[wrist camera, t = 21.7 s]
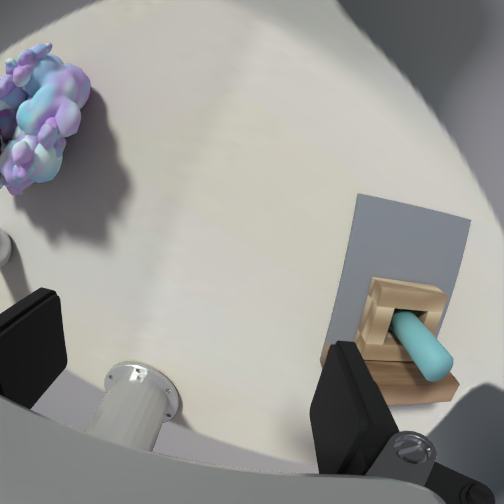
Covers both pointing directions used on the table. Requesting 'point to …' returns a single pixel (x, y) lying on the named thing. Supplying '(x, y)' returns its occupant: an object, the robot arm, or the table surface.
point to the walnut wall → (406, 382)
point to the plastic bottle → (4, 248)
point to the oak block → (381, 310)
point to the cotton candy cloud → (37, 115)
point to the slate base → (395, 256)
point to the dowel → (421, 345)
